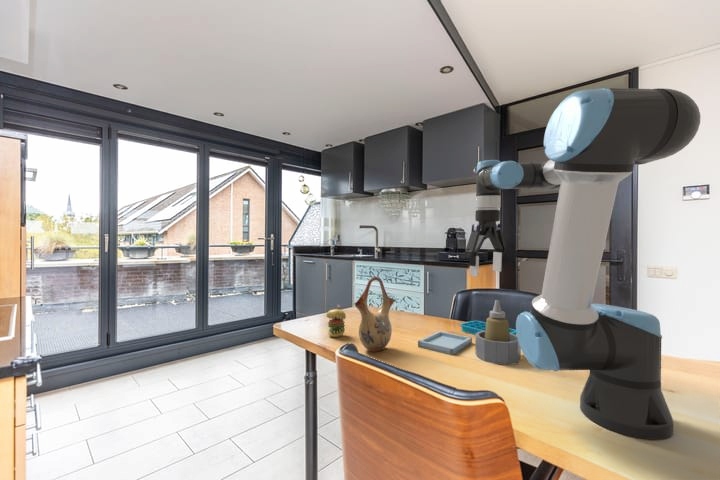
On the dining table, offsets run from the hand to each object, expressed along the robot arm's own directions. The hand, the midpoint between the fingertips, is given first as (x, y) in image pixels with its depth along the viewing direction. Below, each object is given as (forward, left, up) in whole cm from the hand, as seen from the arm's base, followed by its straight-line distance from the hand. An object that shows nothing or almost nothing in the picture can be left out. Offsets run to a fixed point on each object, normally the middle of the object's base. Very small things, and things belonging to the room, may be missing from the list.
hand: (485, 273), depth 108 cm
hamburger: (-18, +52, -27) cm, 61 cm away
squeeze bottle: (-1, -4, -27) cm, 27 cm away
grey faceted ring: (-1, -4, -26) cm, 27 cm away
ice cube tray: (+22, +7, -27) cm, 35 cm away
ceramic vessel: (-21, +30, -27) cm, 45 cm away
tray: (-1, +14, -26) cm, 30 cm away
